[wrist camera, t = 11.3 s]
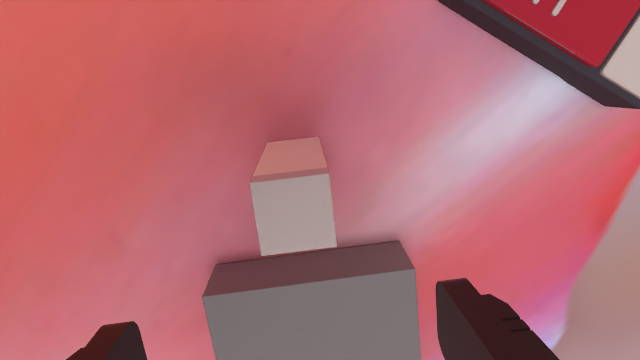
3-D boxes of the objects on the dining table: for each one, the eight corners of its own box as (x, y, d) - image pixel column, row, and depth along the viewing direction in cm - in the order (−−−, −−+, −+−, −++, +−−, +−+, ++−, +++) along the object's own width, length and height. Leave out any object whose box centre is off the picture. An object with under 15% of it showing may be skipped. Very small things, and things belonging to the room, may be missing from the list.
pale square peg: (274, 191, 29) (261, 255, 19) (267, 142, 28) (249, 183, 18) (324, 185, 29) (337, 246, 19) (318, 136, 28) (329, 173, 18)
